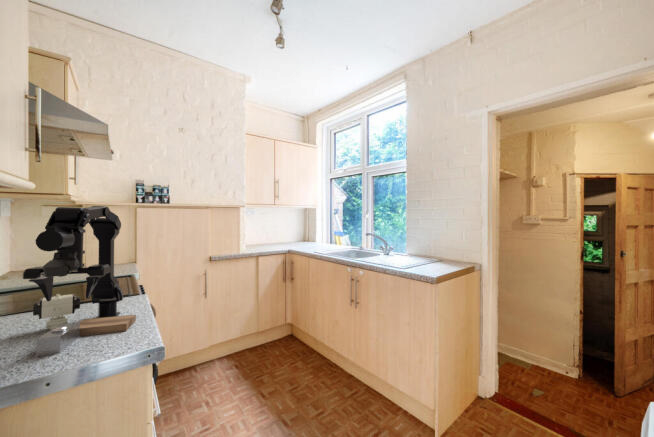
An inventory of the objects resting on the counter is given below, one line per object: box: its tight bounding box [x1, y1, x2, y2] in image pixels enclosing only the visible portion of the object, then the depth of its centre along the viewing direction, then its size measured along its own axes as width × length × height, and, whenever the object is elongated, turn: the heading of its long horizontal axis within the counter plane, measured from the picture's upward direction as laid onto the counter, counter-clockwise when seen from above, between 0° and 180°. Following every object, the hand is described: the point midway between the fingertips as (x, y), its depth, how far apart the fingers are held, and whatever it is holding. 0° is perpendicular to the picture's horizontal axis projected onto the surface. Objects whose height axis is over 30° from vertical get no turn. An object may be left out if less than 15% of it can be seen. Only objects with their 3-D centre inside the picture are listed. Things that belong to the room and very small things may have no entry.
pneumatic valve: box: [32, 293, 81, 331], centre depth 95 cm, size 6×12×12 cm, turn 135°
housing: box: [35, 322, 80, 357], centre depth 81 cm, size 11×5×6 cm, turn 21°
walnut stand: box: [78, 314, 137, 337], centre depth 95 cm, size 10×16×2 cm, turn 110°
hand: (68, 299), depth 81 cm, fingers open, 9 cm apart
